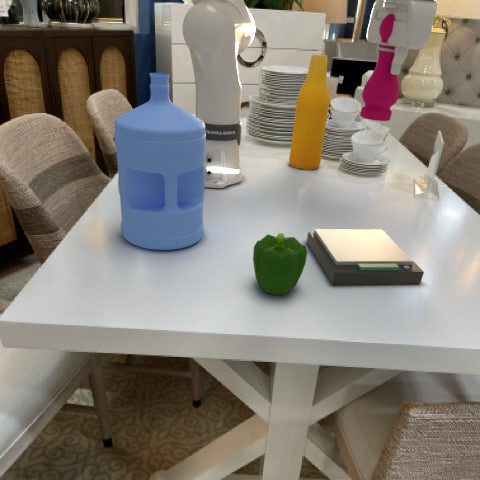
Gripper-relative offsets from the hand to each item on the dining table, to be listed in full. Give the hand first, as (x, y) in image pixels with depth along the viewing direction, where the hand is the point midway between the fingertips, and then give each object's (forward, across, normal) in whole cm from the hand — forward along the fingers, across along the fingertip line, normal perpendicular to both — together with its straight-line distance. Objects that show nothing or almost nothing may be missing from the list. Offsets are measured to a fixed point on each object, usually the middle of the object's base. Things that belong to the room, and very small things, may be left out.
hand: (387, 72), depth 93 cm
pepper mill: (+9, 0, -1) cm, 9 cm away
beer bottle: (+29, -39, -2) cm, 49 cm away
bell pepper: (+29, +34, -27) cm, 52 cm away
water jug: (+29, +12, -45) cm, 55 cm away
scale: (+29, +25, -9) cm, 39 cm away
